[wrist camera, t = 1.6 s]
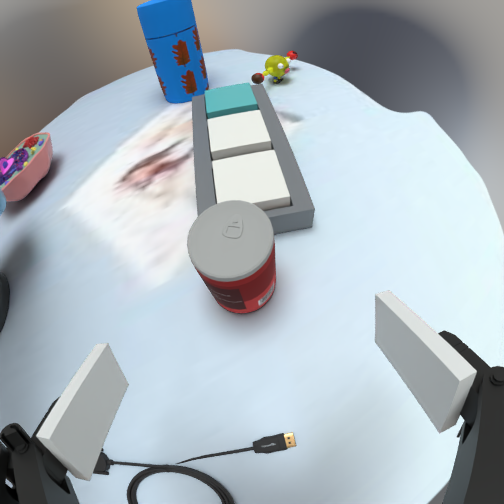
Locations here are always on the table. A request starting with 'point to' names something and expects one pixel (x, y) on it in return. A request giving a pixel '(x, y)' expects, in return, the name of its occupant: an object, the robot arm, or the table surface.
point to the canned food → (235, 254)
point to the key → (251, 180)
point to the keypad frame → (300, 199)
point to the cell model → (25, 166)
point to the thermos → (174, 48)
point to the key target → (230, 100)
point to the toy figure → (275, 67)
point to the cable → (259, 446)
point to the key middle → (238, 135)
